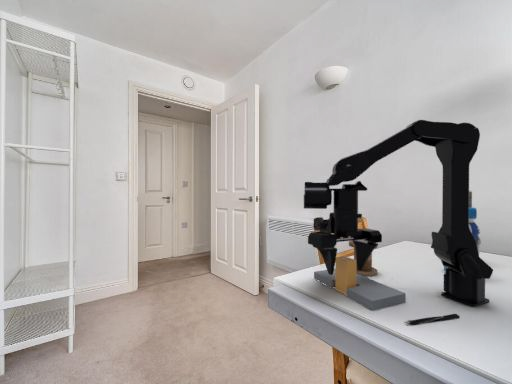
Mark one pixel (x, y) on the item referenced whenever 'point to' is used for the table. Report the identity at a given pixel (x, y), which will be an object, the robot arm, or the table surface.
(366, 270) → the bobbin
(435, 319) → the black twisted rod
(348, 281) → the tan upright block
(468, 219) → the robot arm
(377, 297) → the board
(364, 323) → the table surface
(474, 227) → the beverage bottle
